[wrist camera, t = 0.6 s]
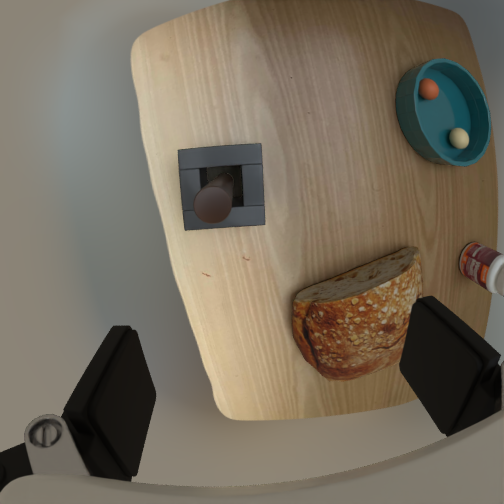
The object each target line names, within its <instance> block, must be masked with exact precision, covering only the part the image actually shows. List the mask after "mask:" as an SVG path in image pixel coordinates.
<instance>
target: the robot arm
mask: <svg viewBox="0 0 504 504" xmlns="http://www.w3.org/2000/svg"><path fill="white" fill-rule="evenodd" d="M500 356H501V355H500V354H499V353H498V352H497V351H496V350H495V349H494V348H493V347H492V346H491V345H489V344H488V343H487V342H486V341H485V340H484V339H483V338H482V337H481V336H479V335H478V334H477V333H476V332H475V331H474V330H473V329H472V328H470V327H469V326H468V325H467V324H466V323H465V322H463V321H462V320H461V319H460V318H459V317H458V316H456V315H455V314H454V313H453V312H452V311H450V310H449V309H448V308H447V307H446V306H444V305H443V304H442V303H441V302H440V301H438V300H437V299H436V298H435V297H433V296H427V297H421V298H418V299H417V300H416V301H415V303H414V304H413V305H412V308H411V314H410V319H409V324H408V329H407V333H406V338H405V342H404V347H403V351H402V355H401V359H400V363H399V367H400V371H401V373H402V375H403V376H404V377H405V379H406V380H407V382H408V383H409V385H410V386H411V388H412V389H413V391H414V392H415V394H416V395H417V397H418V398H419V400H420V401H421V402H422V404H423V406H424V407H425V409H426V410H427V412H428V413H429V415H430V416H431V418H432V419H433V421H434V423H435V424H436V425H437V427H438V429H439V430H440V432H441V433H443V434H446V436H447V438H444V439H442V440H440V441H437V442H435V443H433V444H430V445H428V446H425V447H423V448H420V449H417V450H415V451H412V452H409V453H406V454H403V455H400V456H397V457H394V458H391V459H388V460H385V461H382V462H378V463H375V464H372V465H368V466H364V467H360V468H357V469H353V470H348V471H344V472H340V473H335V474H330V475H326V476H321V477H315V478H309V479H303V480H296V481H290V482H281V483H272V484H262V485H249V486H228V487H193V486H192V487H191V486H169V485H157V484H146V483H136V482H131V479H132V476H136V475H137V473H138V469H139V464H140V460H141V456H142V452H143V448H144V444H145V440H146V435H147V431H148V427H149V424H150V420H151V415H152V412H153V408H154V405H155V401H156V391H155V387H154V384H153V382H152V378H151V375H150V372H149V370H148V367H147V364H146V360H145V357H144V354H143V350H142V347H141V344H140V340H139V337H138V333H137V331H136V330H132V328H131V327H130V326H113V327H112V328H111V329H110V331H109V333H108V334H107V336H106V337H105V339H104V340H103V342H102V344H101V345H100V347H99V349H98V350H97V352H96V354H95V355H94V357H93V359H92V360H91V362H90V364H89V365H88V367H87V369H86V370H85V372H84V374H83V375H82V377H81V379H80V381H79V382H78V384H77V386H76V388H75V389H74V391H73V393H72V395H71V397H70V398H69V400H68V402H67V404H66V406H65V407H64V412H63V414H62V416H61V417H60V416H57V415H54V414H46V415H42V416H39V417H37V418H35V419H34V420H32V421H31V422H30V423H29V424H28V426H27V427H26V430H25V433H24V440H25V442H24V443H22V444H20V445H17V446H15V447H12V448H10V449H7V450H5V451H3V452H0V504H504V361H503V362H502V364H501V366H499V364H498V361H499V359H500Z"/></svg>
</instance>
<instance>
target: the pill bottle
mask: <svg viewBox="0 0 504 504" xmlns="http://www.w3.org/2000/svg"><path fill="white" fill-rule="evenodd" d="M459 266H460V270H461V272H462V274H463V275H464V276H466V277H468V278H469V279H471V280H472V281H474V282H476V283H477V284H479V285H480V286H482V287H483V288H485V289H487V290H488V291H490V292H491V293H499V294H500V295H502V296H504V255H503V254H501V253H499V252H497V251H495V250H493V249H490V248H488V247H486V246H484V245H482V244H479V243H476V242H473V243H470V244H468V245H467V246H466V247H465V248H464V250H463V251H462V254H461V257H460V262H459Z"/></svg>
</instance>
